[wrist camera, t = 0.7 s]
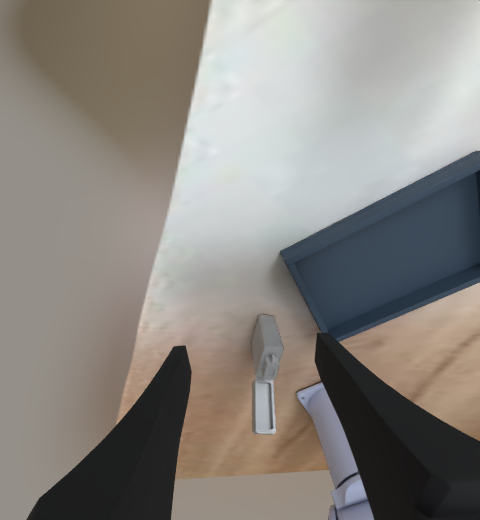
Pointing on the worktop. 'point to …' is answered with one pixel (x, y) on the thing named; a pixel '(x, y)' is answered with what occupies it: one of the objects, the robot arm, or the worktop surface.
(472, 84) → the worktop surface
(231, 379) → the worktop surface
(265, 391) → the lighter
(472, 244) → the tray
